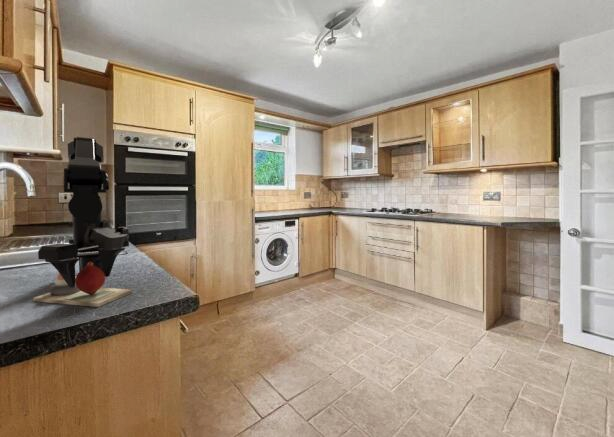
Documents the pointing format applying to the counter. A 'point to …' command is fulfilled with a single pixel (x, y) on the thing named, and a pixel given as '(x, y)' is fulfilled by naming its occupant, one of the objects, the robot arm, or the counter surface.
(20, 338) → the counter surface
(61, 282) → the button
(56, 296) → the board
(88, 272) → the onion
